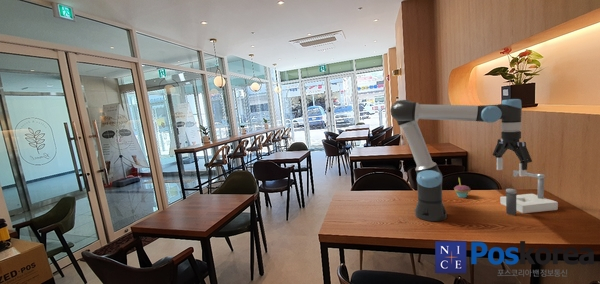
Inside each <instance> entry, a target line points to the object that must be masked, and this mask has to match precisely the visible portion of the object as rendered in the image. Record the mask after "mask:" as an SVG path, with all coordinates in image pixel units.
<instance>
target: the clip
mask: <svg viewBox="0 0 600 284" xmlns="http://www.w3.org/2000/svg"><path fill="white" fill-rule="evenodd" d="M518 175H519V170H516V169H513V171H512V177H514V178H517V177H518ZM525 177H531V178H536V179H538V178H539V179H544V180H545V178H546V174H544V173H533V172H528V171H526V176H525Z"/></svg>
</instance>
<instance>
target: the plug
mask: <svg viewBox="0 0 600 284" xmlns="http://www.w3.org/2000/svg"><path fill="white" fill-rule="evenodd" d="M517 191H518V190H517V189H515V188H505V194H506V195H505V196H506V206H505V208H506V209H505V210H506V211H505V212H506V213H505V214H507V215H510V216H516V215H517V211H516V195H518V194H517V193H518V192H517Z"/></svg>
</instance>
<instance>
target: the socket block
mask: <svg viewBox="0 0 600 284" xmlns="http://www.w3.org/2000/svg"><path fill="white" fill-rule="evenodd" d="M544 193H545V179H539V178H537V194H535V193H523V194H516V212H519V213H521V214H528V213H538V212H540V213H541V212H548V211H557V210H558V207H559V203H558V201H555V200H553V199H549V198H547V197H545V196H544ZM499 197H500V203H499V204H501V205H502V206H505V207H506V195H505V196H499Z"/></svg>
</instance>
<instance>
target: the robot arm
mask: <svg viewBox="0 0 600 284" xmlns="http://www.w3.org/2000/svg"><path fill="white" fill-rule="evenodd" d="M522 106H523V105H522V100H521V99H520V98H511V99H502V100H501V103H499V104H486V105H485V104H482V105H480V104H479V105H476V104H475V105H469V104H468V105H467V104H466V105H465V104H426V103H425V104H424V103H423V104H421V103H420V104H419V102H418V101H417V102H416V101H412V100H409V99H399V100H397V101H395V102H394V103H393V104H392V106H391V107H390V116H391V117H392V118H393V119H394V120H395V121H396V124H397V126H398V127H400V128H401V129H402V131H403V133H404V136H405V138H406V141H407V144H408V146H409V149H410V151H411V154H412V157H413V160H414V162H415V164H416V167H415V168H414V169H415V172H416V185H417V186H416V187H417V203H416V206H415V209H414V215H415V216H416V218H417V219H420V220H423V221H427V222H429V221H430V222H440V221H444V220H446V219H447V218H448V217H447V213H448V212H447V210H446V208H445V206H444V203H443V174H442V172H441V170H440V169H439V166H438V164H437V163H436V162H434V160H432V159H433V158H432V157H431V154H430V151H429V148H428V146H427V144H426V141H425V139H424V136H423V134H422V131H421V129H420V126H419V124H418V122H419V120H436V121H437V120H439V121H463V122H478V123H479V122H480V123H488V124H489V123H490V124H491V123H492V124H493V123H496V122H498V121H499V120H501V125H500V126H501V127H500V129H501V134H500V135H501V137H500V138H501V139H500V138H499V139H497V143H496V145H495V147H494V150H493V152H492V156H493V157H495V163H496V171H503V170H504V158H503V156H504V154H505V153H506V152H507V151H508V150H511V151H512V152H514V154H515V155H516V157H517V159H518V160H519V161H520V162H519V163H518V164H519V166H518V171H519V174H518V176H519V177H522V178H523V177H527V176H526V172H527V170H528V164H529V163H533V160H532V157H531V155H530V152H529V150H528V148H527V143H526V141H520V140H521V138H522V131H521V130H522V114H523V112H522V111H523V110H522V109H523V107H522Z"/></svg>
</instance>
